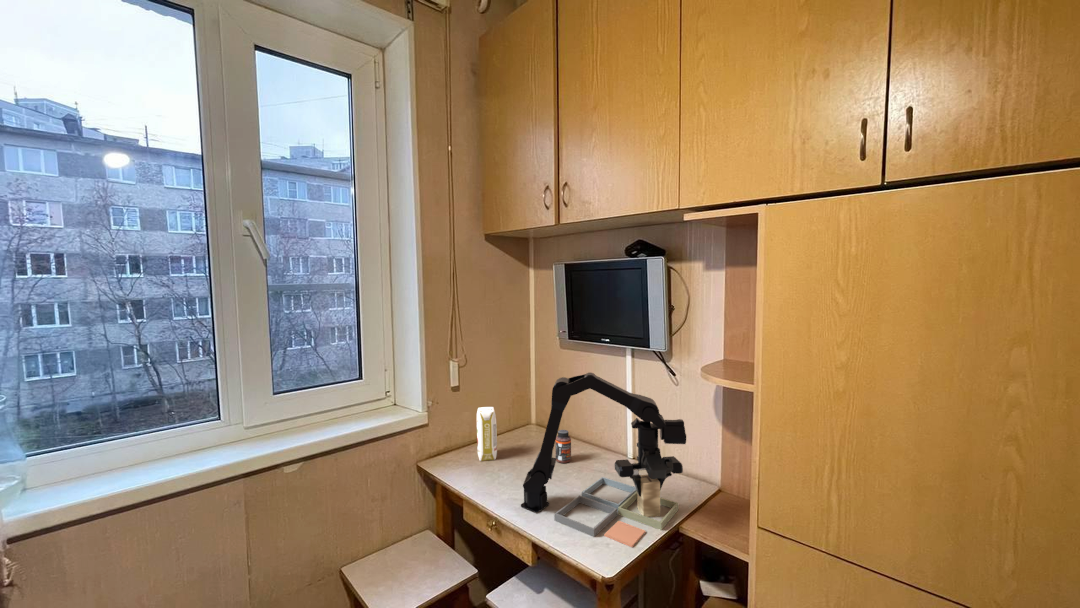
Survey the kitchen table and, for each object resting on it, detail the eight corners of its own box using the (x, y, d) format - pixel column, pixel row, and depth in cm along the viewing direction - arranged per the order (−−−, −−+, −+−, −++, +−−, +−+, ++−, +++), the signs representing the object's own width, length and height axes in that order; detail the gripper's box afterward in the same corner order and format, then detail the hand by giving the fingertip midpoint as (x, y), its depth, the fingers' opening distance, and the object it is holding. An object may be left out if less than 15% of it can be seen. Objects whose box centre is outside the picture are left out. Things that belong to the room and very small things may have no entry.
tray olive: (618, 514, 121) (618, 507, 120) (637, 496, 131) (637, 490, 131) (661, 530, 112) (661, 522, 112) (678, 509, 123) (678, 502, 123)
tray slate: (581, 498, 130) (581, 492, 130) (602, 482, 140) (602, 476, 140) (619, 511, 122) (618, 505, 122) (638, 493, 132) (638, 487, 132)
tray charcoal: (554, 520, 118) (554, 513, 118) (579, 501, 128) (579, 495, 128) (594, 536, 110) (593, 529, 110) (617, 515, 120) (617, 508, 120)
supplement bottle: (562, 465, 155) (561, 435, 154) (552, 459, 159) (552, 430, 159) (574, 460, 158) (574, 431, 158) (564, 455, 163) (564, 427, 163)
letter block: (643, 517, 119) (643, 482, 118) (637, 508, 124) (637, 474, 123) (660, 516, 119) (660, 481, 119) (653, 506, 124) (653, 473, 124)
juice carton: (496, 452, 168) (495, 405, 167) (497, 460, 160) (496, 411, 159) (477, 453, 167) (476, 406, 166) (477, 462, 158) (476, 413, 158)
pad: (604, 536, 110) (604, 534, 110) (618, 522, 117) (618, 520, 117) (632, 547, 105) (632, 545, 105) (645, 532, 112) (645, 530, 112)
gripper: (625, 455, 112) (626, 512, 112) (691, 451, 114) (692, 507, 115) (613, 440, 123) (614, 492, 123) (674, 436, 125) (674, 487, 126)
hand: (648, 495), depth 121 cm, fingers closed on letter block, 5 cm apart
